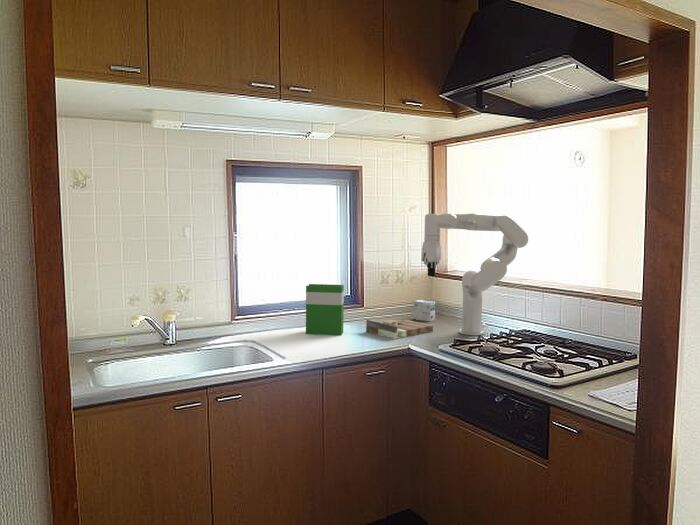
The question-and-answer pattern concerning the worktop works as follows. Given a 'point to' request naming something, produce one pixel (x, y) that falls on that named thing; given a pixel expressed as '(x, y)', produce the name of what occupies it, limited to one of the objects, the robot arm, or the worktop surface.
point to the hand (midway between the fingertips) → (431, 275)
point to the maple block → (391, 322)
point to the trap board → (403, 328)
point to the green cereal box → (324, 309)
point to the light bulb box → (424, 310)
